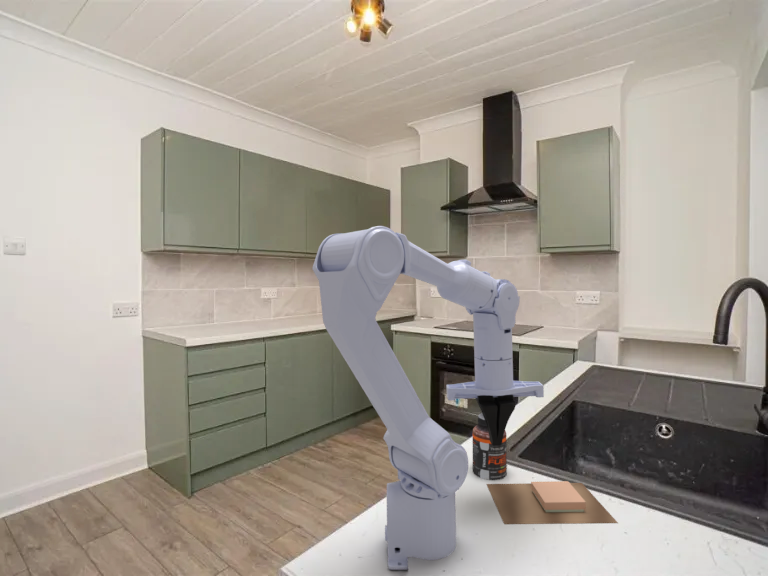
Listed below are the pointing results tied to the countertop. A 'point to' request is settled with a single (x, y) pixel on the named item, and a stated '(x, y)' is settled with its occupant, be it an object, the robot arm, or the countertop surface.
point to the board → (526, 509)
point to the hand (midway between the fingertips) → (495, 443)
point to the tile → (558, 496)
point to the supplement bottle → (488, 453)
